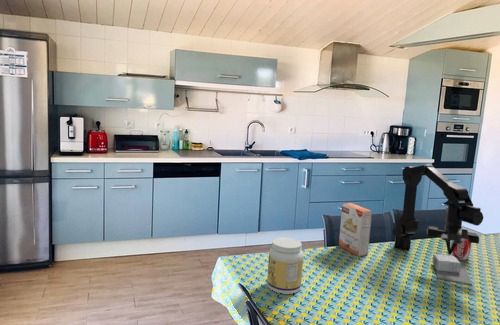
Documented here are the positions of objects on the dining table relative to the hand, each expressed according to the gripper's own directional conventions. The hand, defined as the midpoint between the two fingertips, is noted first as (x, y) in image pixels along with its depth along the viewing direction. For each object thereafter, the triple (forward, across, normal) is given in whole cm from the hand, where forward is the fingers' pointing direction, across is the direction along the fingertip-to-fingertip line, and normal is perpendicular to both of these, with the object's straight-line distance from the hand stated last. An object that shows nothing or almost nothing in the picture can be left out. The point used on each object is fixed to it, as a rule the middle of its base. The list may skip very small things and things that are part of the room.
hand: (449, 254), depth 159 cm
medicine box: (+4, -5, 0) cm, 7 cm away
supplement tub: (+7, -57, -47) cm, 74 cm away
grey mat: (+7, +2, 0) cm, 7 cm away
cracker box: (+7, -39, +3) cm, 40 cm away
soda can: (+7, +7, +19) cm, 22 cm away
